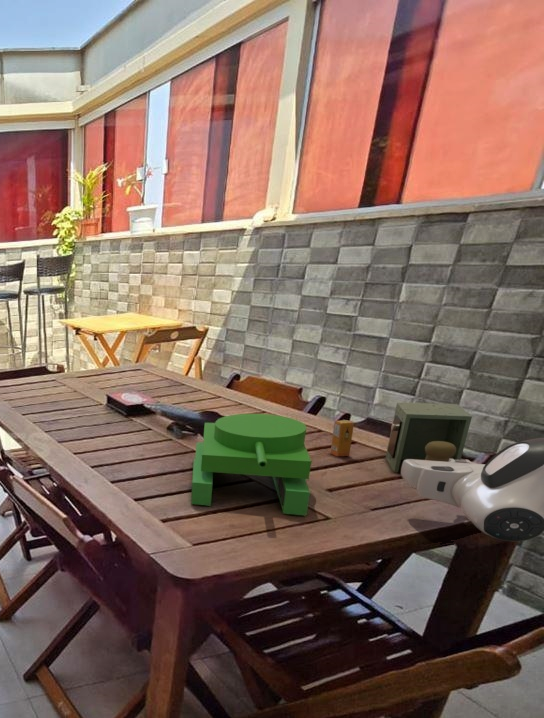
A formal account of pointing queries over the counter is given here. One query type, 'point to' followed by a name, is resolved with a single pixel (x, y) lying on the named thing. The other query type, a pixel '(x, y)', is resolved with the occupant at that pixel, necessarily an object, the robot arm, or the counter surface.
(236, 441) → the tank
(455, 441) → the oven box
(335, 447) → the supplement box
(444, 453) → the cork
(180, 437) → the counter surface
